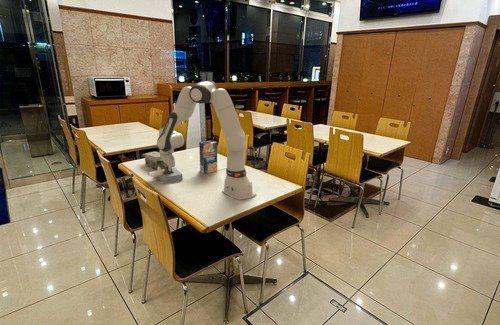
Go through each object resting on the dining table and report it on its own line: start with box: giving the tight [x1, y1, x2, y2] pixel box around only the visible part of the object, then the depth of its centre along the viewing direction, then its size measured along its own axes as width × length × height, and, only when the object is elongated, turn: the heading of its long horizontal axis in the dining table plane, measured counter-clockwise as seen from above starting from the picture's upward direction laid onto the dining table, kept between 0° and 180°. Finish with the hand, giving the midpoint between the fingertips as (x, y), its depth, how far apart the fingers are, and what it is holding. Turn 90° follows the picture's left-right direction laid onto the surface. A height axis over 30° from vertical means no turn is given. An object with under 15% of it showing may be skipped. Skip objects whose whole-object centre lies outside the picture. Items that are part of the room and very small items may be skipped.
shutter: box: [148, 167, 163, 177], centre depth 186 cm, size 7×7×4 cm
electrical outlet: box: [142, 151, 164, 170], centre depth 213 cm, size 12×28×10 cm, turn 47°
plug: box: [164, 164, 173, 175], centre depth 191 cm, size 4×4×9 cm
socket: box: [154, 166, 184, 184], centre depth 192 cm, size 16×14×4 cm
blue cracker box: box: [198, 140, 218, 175], centre depth 205 cm, size 7×11×22 cm, turn 127°
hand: (168, 169), depth 191 cm, fingers open, 5 cm apart
